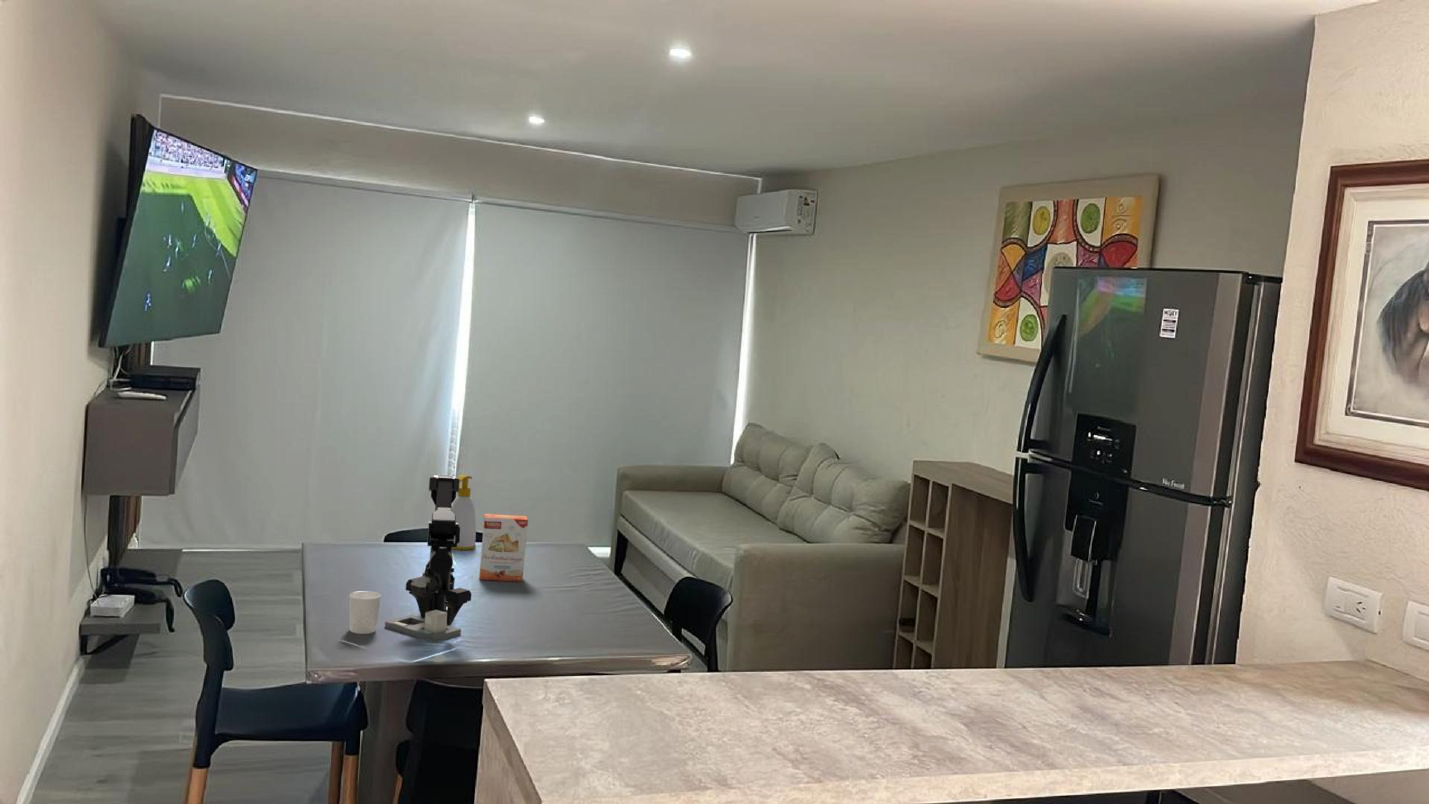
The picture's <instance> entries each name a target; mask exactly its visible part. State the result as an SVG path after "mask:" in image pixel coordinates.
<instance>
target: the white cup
mask: <svg viewBox="0 0 1429 804" xmlns="http://www.w3.org/2000/svg"><path fill="white" fill-rule="evenodd" d="M381 597H382V595H381V593H379V592H376V591H370V590H369V591H368V590H360V591H353V592H351V593H349V609H348V610H349V611H348V613H349V631H350V632H351V633H354V634H360V635H363V634H373V633H375V632H376V631H377V624H378V619H379V613H380V605H381V604H380V603H381Z"/></svg>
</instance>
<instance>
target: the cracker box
mask: <svg viewBox="0 0 1429 804" xmlns="http://www.w3.org/2000/svg"><path fill="white" fill-rule="evenodd" d="M483 518H484V519H483V529H482V542H481V552H480V554H481V555H480V562H479V563H480V564H479V573H478V574H479V577H478V578H479V579H478V580H480V581H482V580H483V581H500V582H501V581H502V582H519V583H522V582H523V579H524V578H523V577H524V569H525V568H524V567H525V556H526V545H527V534H528V524H529V519H528V516H526V515H511V514H510V515H509V514H496V513H495V514H493V513H484V517H483Z"/></svg>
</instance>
